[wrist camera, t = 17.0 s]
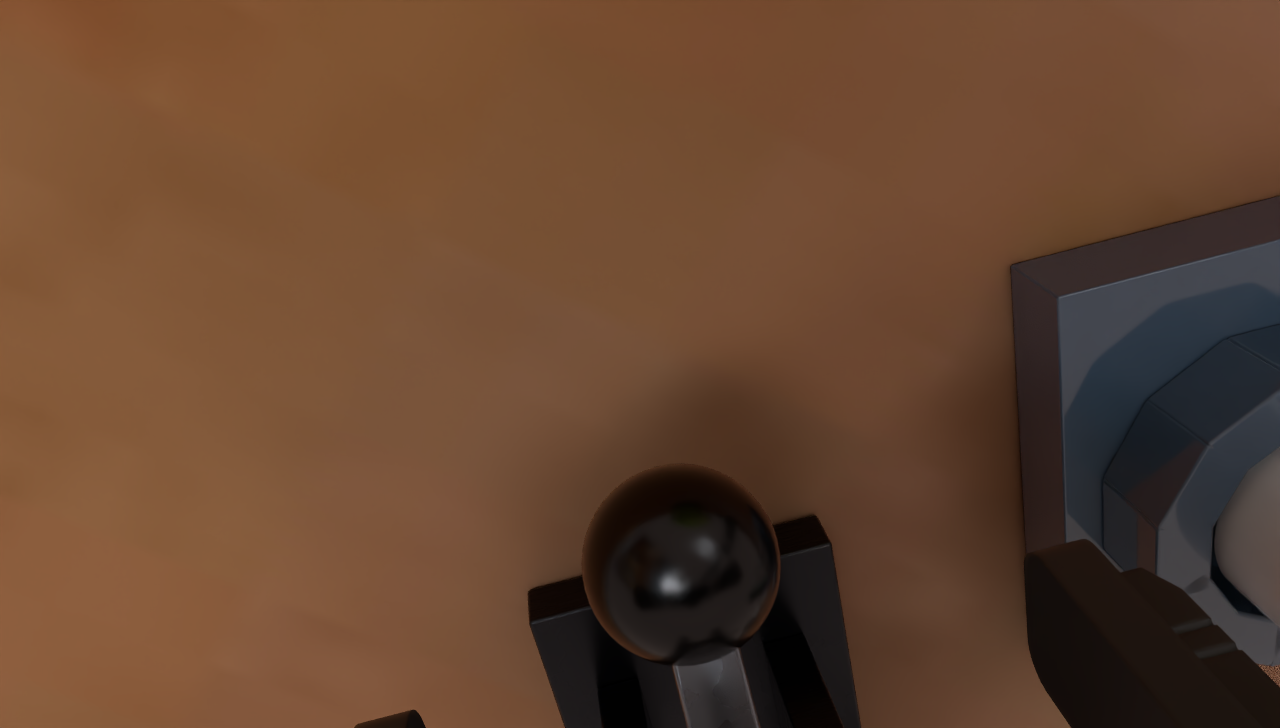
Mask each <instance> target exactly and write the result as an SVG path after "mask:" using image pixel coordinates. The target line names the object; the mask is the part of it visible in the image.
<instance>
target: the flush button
mask: <svg viewBox="0 0 1280 728" xmlns="http://www.w3.org/2000/svg"><path fill="white" fill-rule="evenodd" d="M1214 551H1215V556H1216V561H1217V563H1218V566H1219V568H1220V571H1221V572H1222V574H1223V575H1224V577H1225V578H1226V580H1227V581H1228V582H1229V583H1230V584H1231V585H1232V586H1233V587H1234V588H1235V589H1236V590H1238V591H1239V592H1240V593H1241V594H1242V595H1243V596H1244V597H1245V598H1246V599H1247V600H1248V601H1250V602H1251V603H1252V604H1253V605H1254V606H1255V607H1256V608H1257V609H1258V610H1259V611H1261V612H1262V613H1263V614H1264V615H1265V616H1266V617H1267V618H1268V619H1269V620H1270V621H1272V622H1273V623H1274V624H1275V625H1276V626H1277V627H1278V628H1279V629H1280V447H1279V448H1278V449H1277V450H1275V451H1274V452H1272V453H1271V454H1270V455H1268V456H1267V457H1266V458H1264V459H1263V460H1262V461H1260V462H1259V463H1258V464H1256V465H1255V466H1254V467H1252V468H1251V469H1250V470H1248V472H1247V473H1246V475H1245V477H1244V478H1243V480H1242V482H1241V483H1240V485H1239V486H1238V488H1237V490H1236V491H1235V493H1234V494H1233V496H1232V498H1231V499H1230V501H1229V503H1228V504H1227V506H1226V507H1225V509H1224V511H1223V512H1222V514H1221V515H1220V517H1219V519H1218V520H1217V524H1216V527H1215V535H1214Z"/></svg>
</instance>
